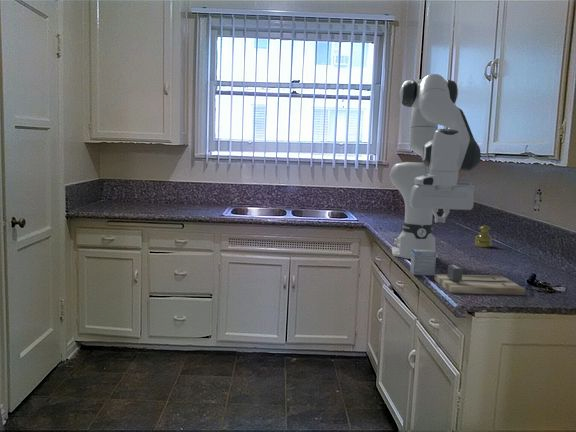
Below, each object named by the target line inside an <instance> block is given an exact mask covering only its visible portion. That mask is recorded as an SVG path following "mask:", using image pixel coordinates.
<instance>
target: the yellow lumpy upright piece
mask: <svg viewBox="0 0 576 432" xmlns="http://www.w3.org/2000/svg"><path fill="white" fill-rule="evenodd" d="M478 228H479V230H480V233H478V235H475V241H474V245H475V247H479V248H491V247H492V241H493V237H491V235H490V234H489V233H488V232H489V230H491V227H489V226H487V224H486V225H485V224H484V225H481V226H479V227H478Z"/></svg>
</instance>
